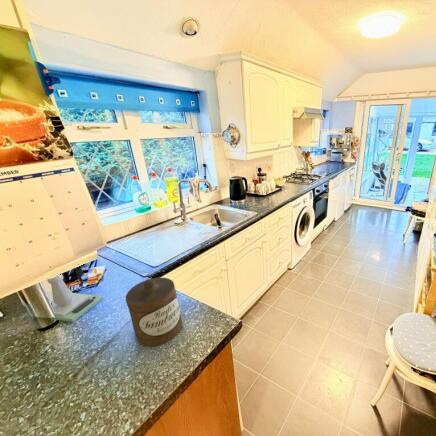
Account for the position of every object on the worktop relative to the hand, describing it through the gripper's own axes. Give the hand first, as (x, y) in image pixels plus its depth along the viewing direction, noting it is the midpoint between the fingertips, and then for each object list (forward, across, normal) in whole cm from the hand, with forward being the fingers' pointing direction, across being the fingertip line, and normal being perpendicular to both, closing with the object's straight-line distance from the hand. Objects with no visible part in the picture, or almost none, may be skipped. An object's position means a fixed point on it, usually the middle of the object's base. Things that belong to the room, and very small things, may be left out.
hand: (59, 291), depth 91 cm
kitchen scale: (+8, -1, -6) cm, 10 cm away
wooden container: (+33, -21, +19) cm, 44 cm away
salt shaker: (+4, 0, -5) cm, 7 cm away
